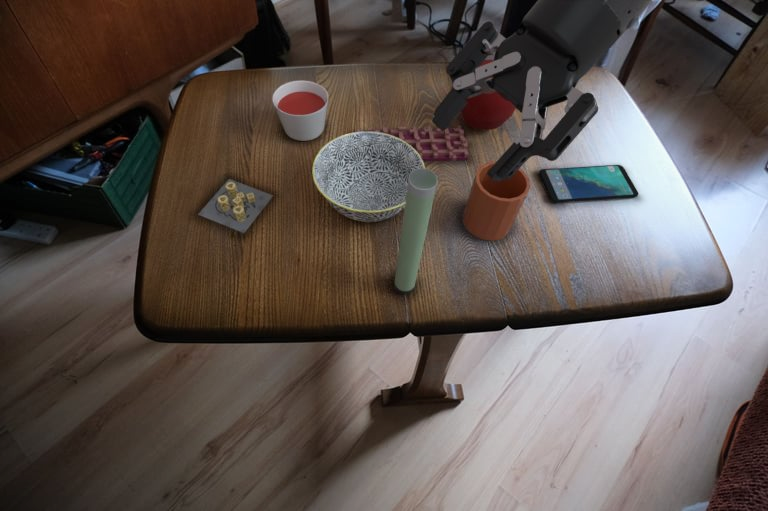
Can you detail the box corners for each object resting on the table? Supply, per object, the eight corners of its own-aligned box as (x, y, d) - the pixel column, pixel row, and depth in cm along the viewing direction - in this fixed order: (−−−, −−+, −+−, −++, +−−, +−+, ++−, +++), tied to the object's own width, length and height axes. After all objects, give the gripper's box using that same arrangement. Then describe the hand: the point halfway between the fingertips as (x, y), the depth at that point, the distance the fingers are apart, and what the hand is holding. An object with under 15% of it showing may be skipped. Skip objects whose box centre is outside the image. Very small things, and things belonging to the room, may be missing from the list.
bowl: (349, 153, 74) (349, 116, 68) (435, 189, 71) (443, 154, 65) (295, 217, 66) (289, 182, 60) (389, 261, 63) (393, 229, 56)
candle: (271, 119, 78) (265, 88, 73) (318, 106, 81) (316, 75, 75) (288, 152, 74) (283, 121, 68) (338, 137, 76) (337, 106, 71)
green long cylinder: (419, 287, 61) (444, 180, 43) (403, 298, 59) (422, 194, 42) (405, 273, 62) (423, 163, 44) (389, 284, 61) (402, 176, 43)
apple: (480, 152, 76) (498, 94, 66) (438, 118, 80) (449, 59, 71) (522, 128, 80) (545, 69, 70) (480, 97, 85) (496, 38, 75)
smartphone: (538, 168, 73) (622, 163, 75) (536, 172, 74) (620, 167, 76) (552, 201, 69) (640, 195, 71) (550, 204, 70) (638, 198, 72)
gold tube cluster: (242, 223, 65) (239, 214, 64) (213, 211, 66) (209, 203, 64) (261, 199, 68) (259, 191, 66) (232, 188, 69) (229, 180, 67)
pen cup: (520, 224, 68) (541, 183, 60) (488, 249, 65) (505, 209, 57) (485, 195, 71) (500, 153, 63) (452, 218, 68) (464, 176, 60)
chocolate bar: (470, 160, 75) (473, 151, 73) (358, 163, 73) (359, 154, 71) (462, 131, 79) (464, 122, 77) (356, 134, 77) (356, 125, 75)
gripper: (521, -58, 38) (402, 98, 44) (658, 20, 32) (499, 189, 38) (542, -8, 44) (436, 122, 50) (661, 65, 38) (524, 205, 44)
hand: (463, 151), depth 44 cm, fingers open, 8 cm apart
